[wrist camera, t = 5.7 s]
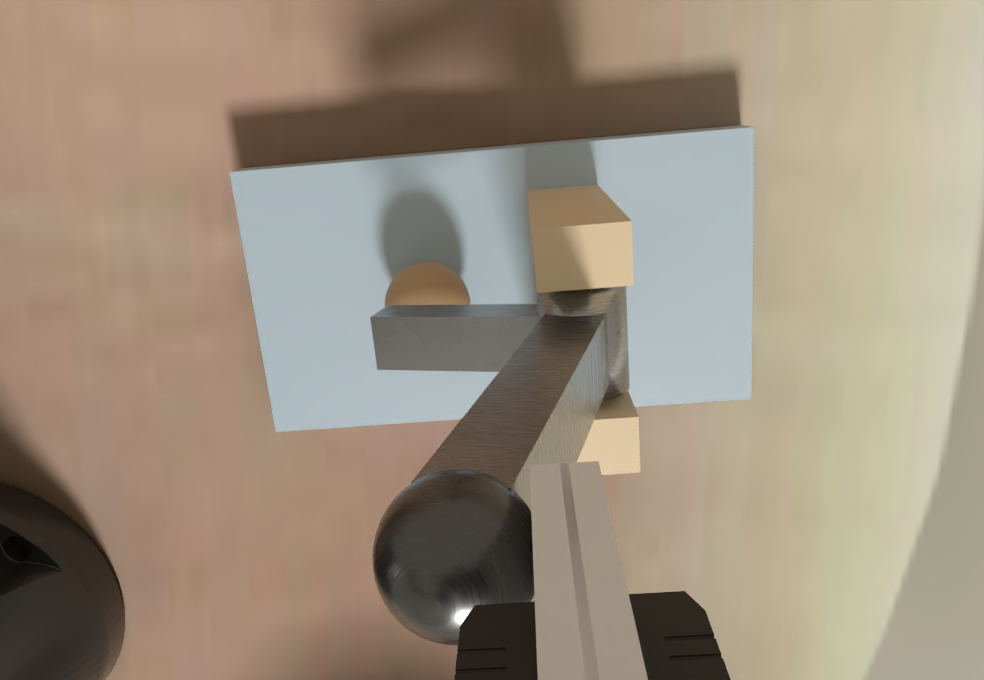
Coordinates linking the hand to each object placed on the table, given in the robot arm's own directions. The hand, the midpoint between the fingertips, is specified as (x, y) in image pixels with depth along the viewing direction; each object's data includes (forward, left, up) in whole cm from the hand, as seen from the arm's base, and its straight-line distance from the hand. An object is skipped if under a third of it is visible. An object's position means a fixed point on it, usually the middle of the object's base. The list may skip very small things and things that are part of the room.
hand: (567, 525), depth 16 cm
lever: (-1, 0, -14) cm, 14 cm away
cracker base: (-2, 0, -22) cm, 22 cm away
